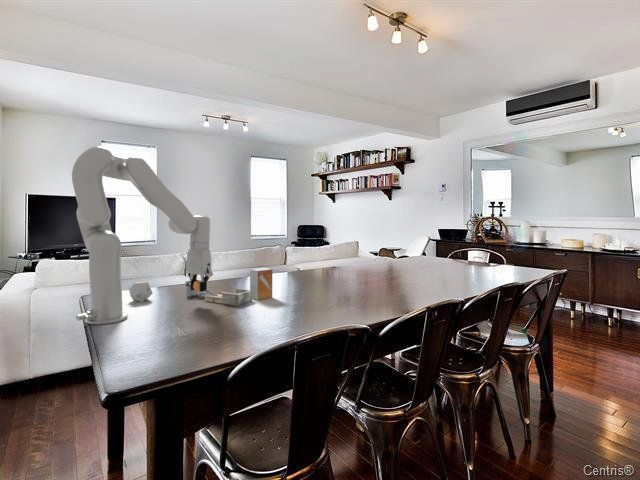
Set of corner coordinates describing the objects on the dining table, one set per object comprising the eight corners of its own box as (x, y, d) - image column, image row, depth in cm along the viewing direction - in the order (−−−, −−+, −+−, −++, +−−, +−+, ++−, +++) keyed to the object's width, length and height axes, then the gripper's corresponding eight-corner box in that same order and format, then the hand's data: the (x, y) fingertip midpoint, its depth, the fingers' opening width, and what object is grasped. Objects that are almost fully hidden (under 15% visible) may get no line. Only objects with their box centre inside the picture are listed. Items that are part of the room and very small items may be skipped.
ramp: (211, 299, 156) (210, 284, 156) (185, 296, 163) (185, 281, 162) (218, 297, 160) (218, 282, 160) (193, 294, 167) (193, 279, 167)
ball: (198, 292, 144) (198, 281, 144) (190, 291, 146) (190, 280, 146) (206, 290, 148) (206, 280, 148) (198, 289, 150) (198, 279, 150)
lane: (237, 305, 147) (237, 294, 146) (204, 300, 155) (204, 290, 154) (251, 300, 155) (251, 290, 155) (219, 296, 163) (219, 286, 163)
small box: (257, 300, 156) (257, 270, 155) (249, 298, 160) (249, 269, 159) (272, 297, 161) (272, 268, 160) (264, 295, 166) (264, 267, 165)
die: (129, 305, 148) (144, 286, 148) (120, 292, 153) (134, 274, 153) (146, 308, 156) (160, 290, 156) (137, 296, 160) (150, 278, 160)
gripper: (177, 245, 147) (176, 289, 148) (208, 247, 139) (207, 294, 140) (191, 244, 154) (190, 286, 154) (222, 247, 146) (220, 291, 147)
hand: (198, 289), depth 147 cm, fingers closed on ball, 4 cm apart
